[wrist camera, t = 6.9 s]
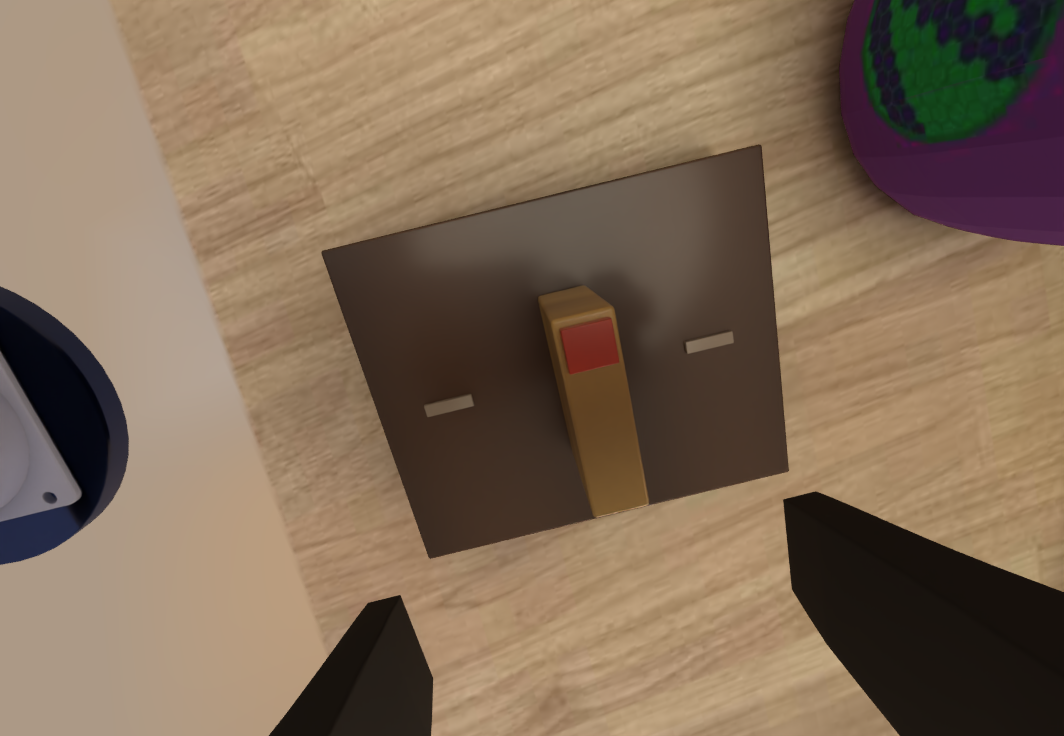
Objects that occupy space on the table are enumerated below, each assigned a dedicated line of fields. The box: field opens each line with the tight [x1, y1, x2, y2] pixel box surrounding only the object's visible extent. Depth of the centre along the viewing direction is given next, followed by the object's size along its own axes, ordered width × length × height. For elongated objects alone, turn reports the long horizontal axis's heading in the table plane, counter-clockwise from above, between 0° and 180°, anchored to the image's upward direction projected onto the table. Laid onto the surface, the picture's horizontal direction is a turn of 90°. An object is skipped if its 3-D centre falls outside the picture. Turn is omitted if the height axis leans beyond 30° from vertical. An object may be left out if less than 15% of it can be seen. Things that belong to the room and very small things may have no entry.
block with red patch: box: [538, 285, 649, 517], centre depth 13 cm, size 5×1×4 cm, turn 13°
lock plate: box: [322, 145, 789, 559], centre depth 16 cm, size 12×10×3 cm
